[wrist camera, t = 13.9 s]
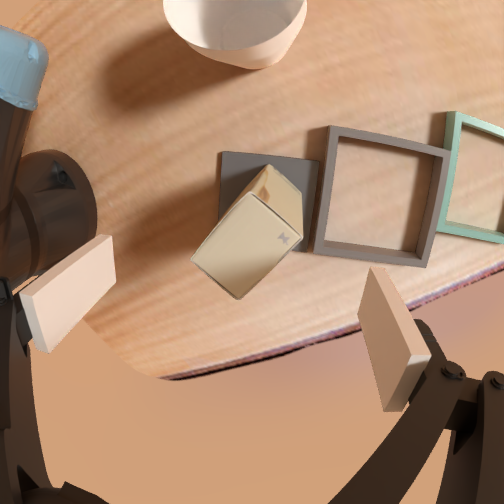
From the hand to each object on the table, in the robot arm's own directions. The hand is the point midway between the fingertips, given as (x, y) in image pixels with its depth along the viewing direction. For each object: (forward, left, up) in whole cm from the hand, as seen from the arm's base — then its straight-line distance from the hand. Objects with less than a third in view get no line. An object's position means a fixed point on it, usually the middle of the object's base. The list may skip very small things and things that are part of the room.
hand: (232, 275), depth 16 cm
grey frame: (+11, +2, -17) cm, 20 cm away
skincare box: (0, 0, -16) cm, 16 cm away
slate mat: (0, 0, -17) cm, 17 cm away
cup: (-2, +16, -17) cm, 23 cm away
